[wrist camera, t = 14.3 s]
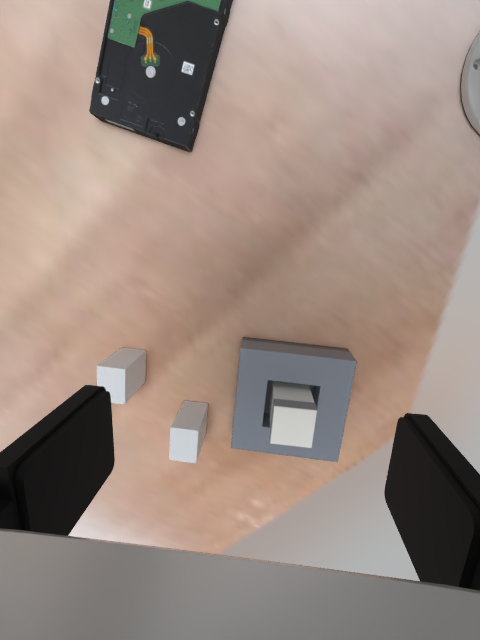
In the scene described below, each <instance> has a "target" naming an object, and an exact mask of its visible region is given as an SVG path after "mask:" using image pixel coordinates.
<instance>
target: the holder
mask: <svg viewBox="0 0 480 640" xmlns="http://www.w3.org/2000/svg"><path fill="white" fill-rule="evenodd" d="M356 363H357V361H356V359H355V358H354V357H353V356H352V354H351V353H350V352H349V350H348V349H345V348H336V347H327V346H318V345H309V344H300V343H291V342H282V341H273V340H264V339H255V338H246V337H243V340H242V345H241V350H240V360H239V370H238V380H237V390H236V401H235V411H234V421H233V431H232V441H231V448H233V449H241V450H249V451H256V452H264V453H272V454H279V455H287V456H295V457H302V458H310V459H318V460H325V461H333V462H338V458H339V452H340V447H341V442H342V437H343V431H344V426H345V421H346V416H347V410H348V405H349V400H350V395H351V390H352V384H353V379H354V374H355V369H356ZM272 380H273V381H281V382H290V383H298V384H307V385H309V386H310V390H311V393H312V396H313V400H314V403H315V404H316V407H317V416H316V423H315V430H314V436H313V443H312V448H306V447H297V446H289V445H280V444H271V443H270V409H269V408H270V398H271V389H272Z"/></svg>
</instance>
